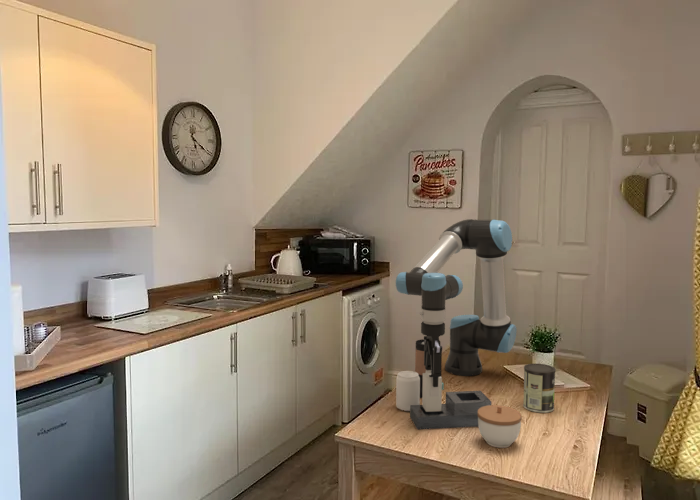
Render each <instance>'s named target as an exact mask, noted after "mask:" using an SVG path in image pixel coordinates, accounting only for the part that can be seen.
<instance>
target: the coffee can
mask: <svg viewBox="0 0 700 500" xmlns="http://www.w3.org/2000/svg"><path fill="white" fill-rule="evenodd" d="M523 370H524V371H523V374H524V376H523V406H522V407H524V409H526V410H527V411H530V412H533V413H540V414H541V413H542V414H548V413H551V412H553V411H554V410H555V389H556V388H555V384H556V383H555V382H556V368H555V367H553V366H552V365H549V364H546V363H528V364H527V363H526V364H525V365H524V366H523Z"/></svg>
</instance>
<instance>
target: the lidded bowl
mask: <svg viewBox="0 0 700 500" xmlns="http://www.w3.org/2000/svg"><path fill="white" fill-rule="evenodd" d="M477 415H478V431H479V433H480V436H481V438H483V440H485V442H486V444H488V445H489V446H490V447H494V448H500V449H504V448H509V447H511V446H512V444H513V443H515V441H516V440H517V439H518V437H519V434H520V432H521V427H522V418H523V417H522V414H521V412H520V411H519V410H517V409H515V408H512V407H509V406H505V405H501V404H500V405H499V404H491V405H488V406H483V407H481V408H479V409H478V413H477Z"/></svg>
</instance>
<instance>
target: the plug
mask: <svg viewBox="0 0 700 500" xmlns="http://www.w3.org/2000/svg"><path fill="white" fill-rule="evenodd" d="M429 375H431V373H423V389H422V398H421V399H422V400H421V402H422V403H421V405H422V406H423V408H424V409H425V411H426V412H432V411H441V406H442V404H443V403H442V400H443V399H442V396H443V391H444V390H445V389H444V388H445V386H444V385H445V383H444V382H443V377H442V376H441V377H439V396H433V397H430V377H429Z"/></svg>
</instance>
